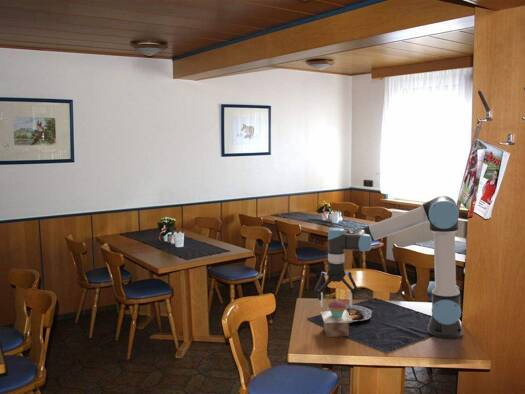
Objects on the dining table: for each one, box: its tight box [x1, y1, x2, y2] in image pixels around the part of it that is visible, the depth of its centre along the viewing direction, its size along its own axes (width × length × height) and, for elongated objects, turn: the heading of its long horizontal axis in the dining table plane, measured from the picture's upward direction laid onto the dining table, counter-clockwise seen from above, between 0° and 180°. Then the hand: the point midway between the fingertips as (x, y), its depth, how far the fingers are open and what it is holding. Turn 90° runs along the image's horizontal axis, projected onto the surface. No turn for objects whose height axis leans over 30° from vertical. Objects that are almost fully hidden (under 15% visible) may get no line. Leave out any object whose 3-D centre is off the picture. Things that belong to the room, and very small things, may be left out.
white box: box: [319, 310, 353, 338], centre depth 245 cm, size 13×13×8 cm
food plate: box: [325, 303, 373, 323], centre depth 266 cm, size 25×23×4 cm
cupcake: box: [327, 289, 346, 318], centre depth 243 cm, size 9×8×12 cm
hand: (336, 306), depth 243 cm, fingers open, 13 cm apart
